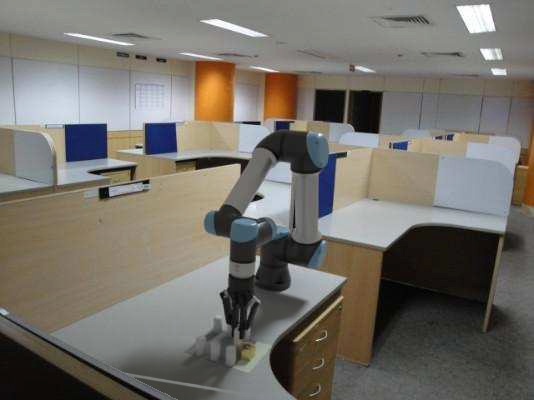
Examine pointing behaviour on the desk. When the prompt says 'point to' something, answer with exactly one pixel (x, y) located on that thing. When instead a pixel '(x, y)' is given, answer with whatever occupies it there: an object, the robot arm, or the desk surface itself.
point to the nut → (245, 351)
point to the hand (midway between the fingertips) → (237, 347)
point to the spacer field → (226, 347)
